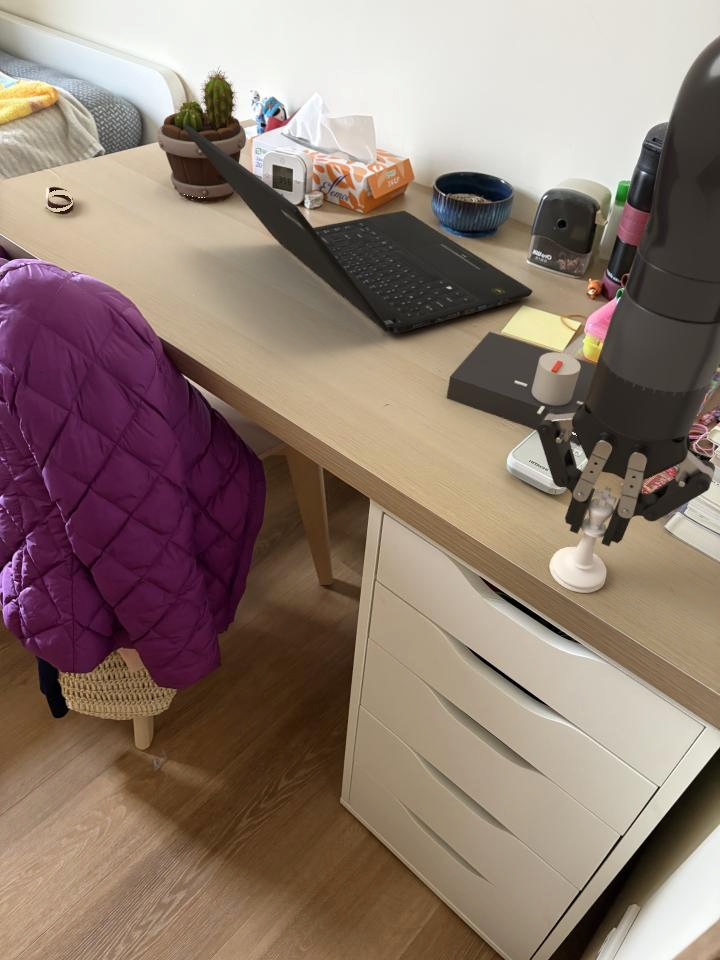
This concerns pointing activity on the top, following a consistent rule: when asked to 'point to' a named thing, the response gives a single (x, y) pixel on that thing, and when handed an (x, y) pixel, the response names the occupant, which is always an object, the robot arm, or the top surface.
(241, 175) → the laptop
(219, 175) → the flowerpot
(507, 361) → the dark grey flat block
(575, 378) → the knob
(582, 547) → the chess piece
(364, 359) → the top surface
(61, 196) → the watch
